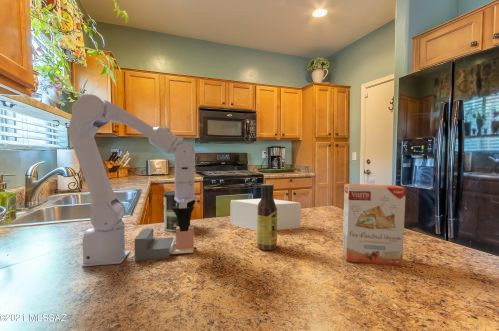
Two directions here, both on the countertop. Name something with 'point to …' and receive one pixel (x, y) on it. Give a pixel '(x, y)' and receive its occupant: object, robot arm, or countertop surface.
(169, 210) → the coffee can
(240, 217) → the white rectangular box
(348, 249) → the cracker box
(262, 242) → the sauce bottle
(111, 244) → the robot arm
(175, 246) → the pink and white block
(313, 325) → the countertop surface
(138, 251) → the dispenser
